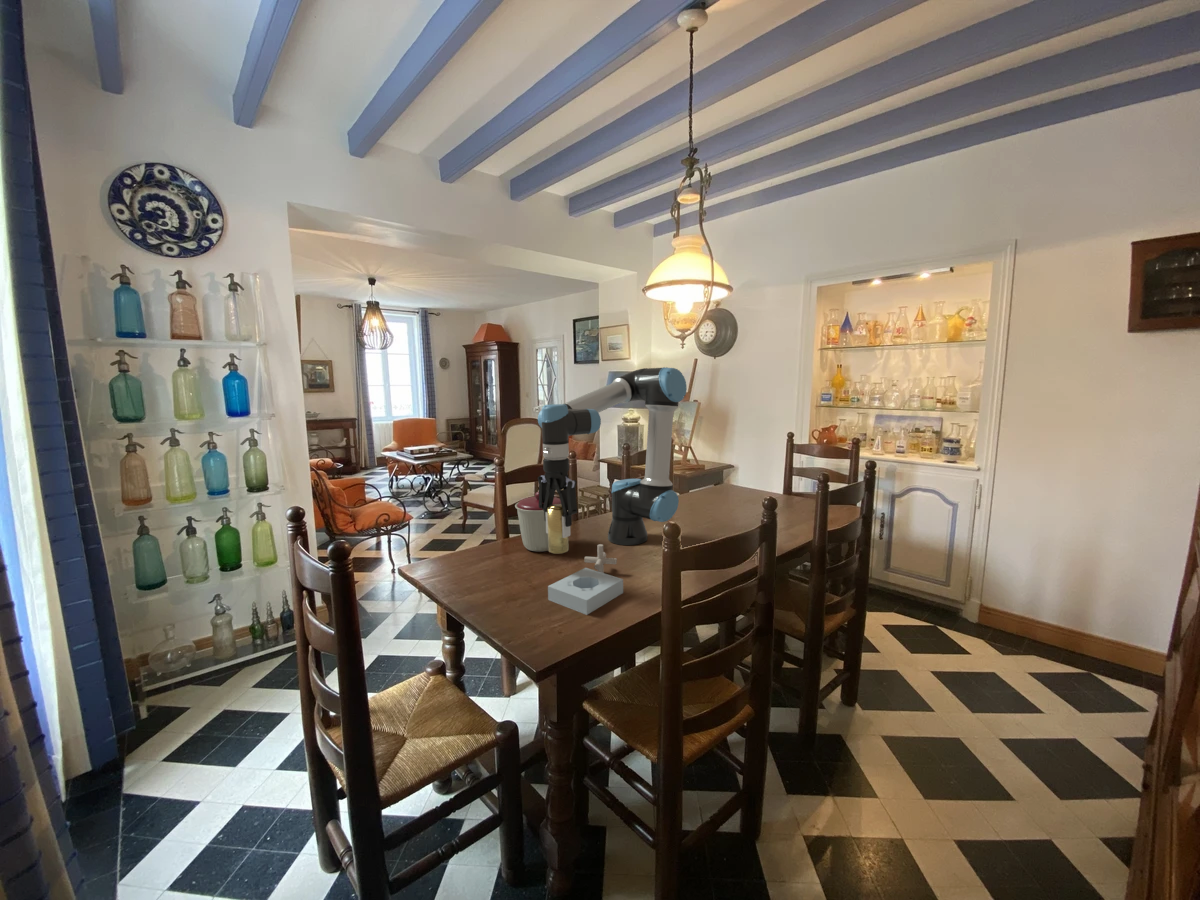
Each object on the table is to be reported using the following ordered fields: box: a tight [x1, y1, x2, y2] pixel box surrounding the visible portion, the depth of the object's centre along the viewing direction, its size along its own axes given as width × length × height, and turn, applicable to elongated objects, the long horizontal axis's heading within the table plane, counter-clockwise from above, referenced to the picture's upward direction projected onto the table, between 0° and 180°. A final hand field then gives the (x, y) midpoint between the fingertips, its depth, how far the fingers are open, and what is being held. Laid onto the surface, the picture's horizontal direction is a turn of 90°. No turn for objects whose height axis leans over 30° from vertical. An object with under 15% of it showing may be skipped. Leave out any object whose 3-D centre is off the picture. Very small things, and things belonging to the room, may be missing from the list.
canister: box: [514, 490, 561, 553], centre depth 174 cm, size 18×18×21 cm
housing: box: [547, 567, 624, 616], centre depth 133 cm, size 16×14×5 cm
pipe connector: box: [583, 543, 618, 573], centre depth 149 cm, size 10×10×10 cm
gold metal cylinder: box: [547, 504, 570, 555], centre depth 141 cm, size 6×6×14 cm
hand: (558, 534), depth 142 cm, fingers closed on gold metal cylinder, 6 cm apart
